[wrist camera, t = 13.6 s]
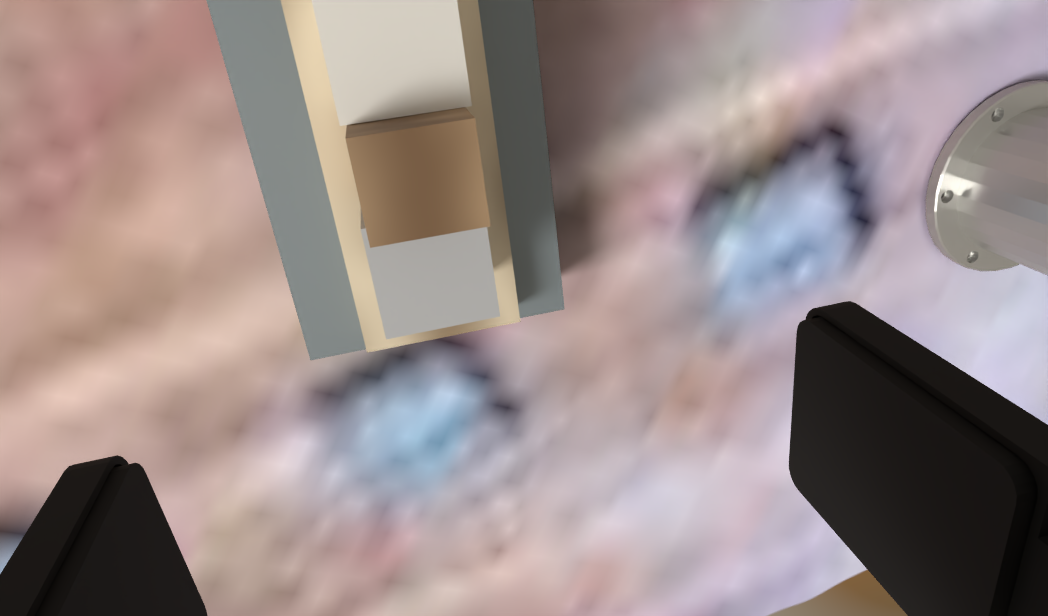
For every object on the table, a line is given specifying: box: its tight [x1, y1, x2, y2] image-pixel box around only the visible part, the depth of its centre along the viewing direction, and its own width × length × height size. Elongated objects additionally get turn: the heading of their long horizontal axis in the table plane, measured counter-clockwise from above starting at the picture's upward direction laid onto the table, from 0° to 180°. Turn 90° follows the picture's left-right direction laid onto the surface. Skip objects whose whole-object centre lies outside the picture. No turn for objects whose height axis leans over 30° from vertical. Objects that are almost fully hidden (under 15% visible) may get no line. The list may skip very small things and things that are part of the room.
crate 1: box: [312, 0, 472, 126], centre depth 27 cm, size 5×5×5 cm
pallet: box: [281, 0, 520, 352], centre depth 29 cm, size 8×20×10 cm, turn 7°
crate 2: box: [361, 210, 500, 339], centre depth 31 cm, size 5×5×5 cm
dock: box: [207, 0, 564, 360], centre depth 35 cm, size 14×22×4 cm, turn 7°
